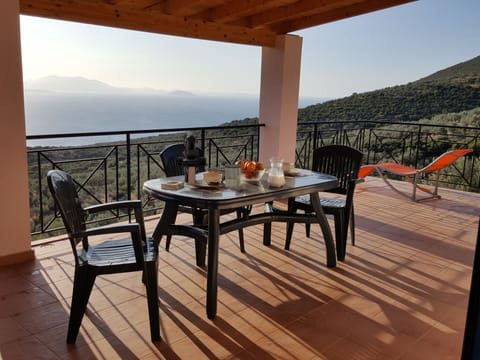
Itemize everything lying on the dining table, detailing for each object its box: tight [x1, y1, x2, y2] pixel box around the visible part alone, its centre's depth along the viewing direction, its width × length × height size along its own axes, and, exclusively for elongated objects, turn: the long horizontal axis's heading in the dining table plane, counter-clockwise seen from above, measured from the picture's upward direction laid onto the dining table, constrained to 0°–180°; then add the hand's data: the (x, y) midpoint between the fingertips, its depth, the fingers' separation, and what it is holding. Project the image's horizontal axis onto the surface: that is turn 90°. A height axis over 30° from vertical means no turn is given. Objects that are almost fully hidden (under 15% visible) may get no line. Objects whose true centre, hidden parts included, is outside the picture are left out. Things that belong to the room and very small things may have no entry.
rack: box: [160, 180, 185, 191], centre depth 283 cm, size 12×10×3 cm
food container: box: [207, 166, 225, 185], centre depth 301 cm, size 12×6×10 cm, turn 71°
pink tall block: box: [187, 167, 196, 185], centre depth 281 cm, size 5×4×10 cm
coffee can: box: [224, 163, 242, 189], centre depth 289 cm, size 10×10×14 cm
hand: (191, 172), depth 279 cm, fingers closed on pink tall block, 4 cm apart
